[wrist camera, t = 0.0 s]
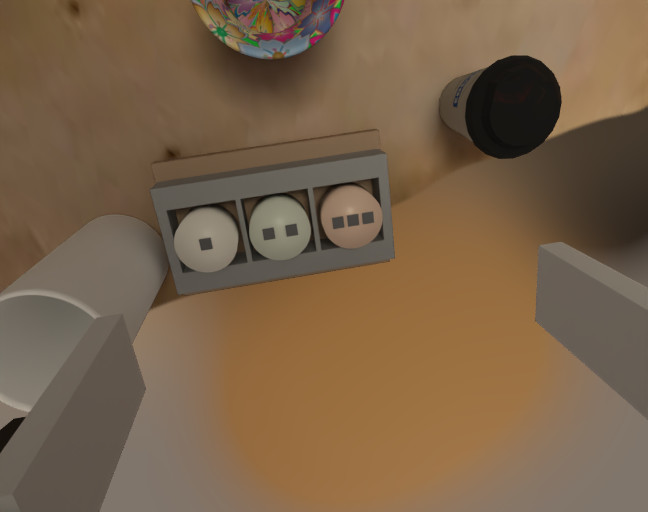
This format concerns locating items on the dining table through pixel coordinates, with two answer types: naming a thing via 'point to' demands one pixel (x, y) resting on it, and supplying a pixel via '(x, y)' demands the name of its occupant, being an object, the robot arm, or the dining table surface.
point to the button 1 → (207, 238)
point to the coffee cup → (504, 106)
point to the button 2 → (279, 226)
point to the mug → (269, 24)
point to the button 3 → (350, 215)
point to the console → (269, 178)
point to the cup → (75, 300)
